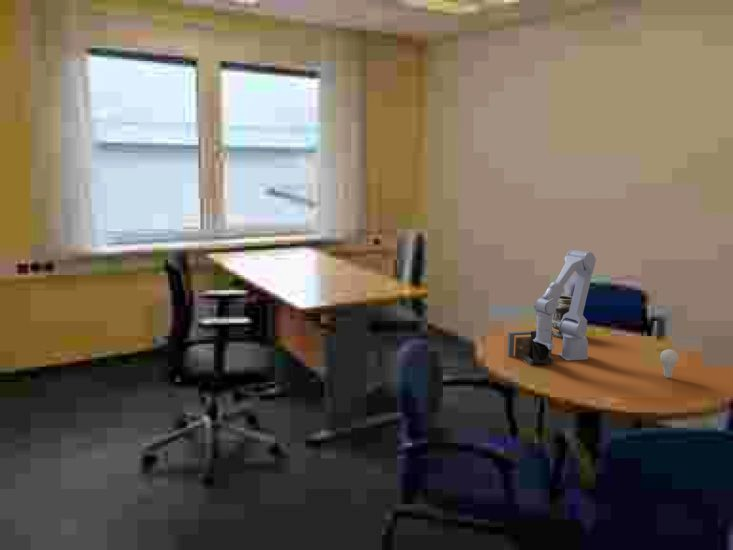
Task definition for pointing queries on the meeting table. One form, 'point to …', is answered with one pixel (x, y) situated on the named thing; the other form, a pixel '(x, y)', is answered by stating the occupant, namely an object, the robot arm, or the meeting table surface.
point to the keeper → (532, 360)
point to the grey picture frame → (511, 341)
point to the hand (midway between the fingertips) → (542, 361)
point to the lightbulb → (668, 361)
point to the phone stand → (534, 353)
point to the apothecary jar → (561, 313)
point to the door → (522, 346)
